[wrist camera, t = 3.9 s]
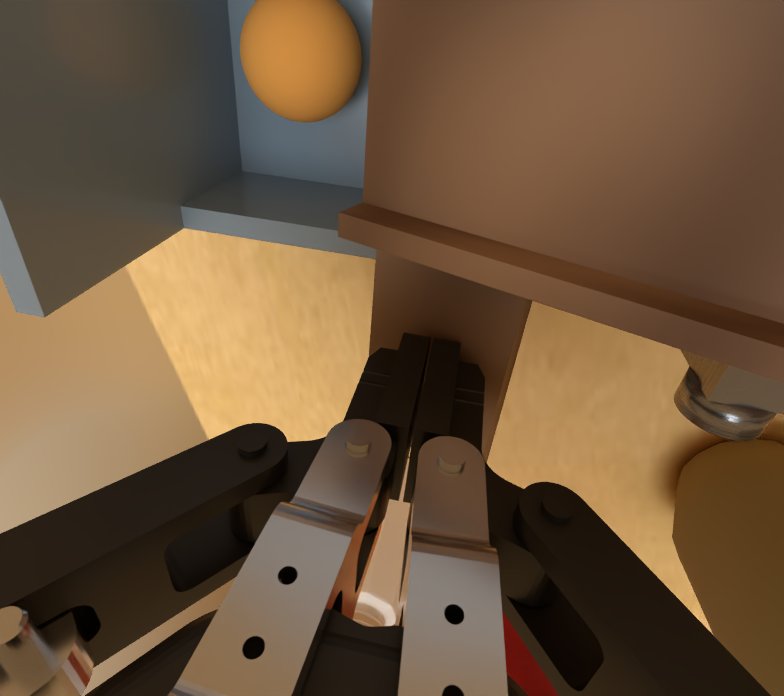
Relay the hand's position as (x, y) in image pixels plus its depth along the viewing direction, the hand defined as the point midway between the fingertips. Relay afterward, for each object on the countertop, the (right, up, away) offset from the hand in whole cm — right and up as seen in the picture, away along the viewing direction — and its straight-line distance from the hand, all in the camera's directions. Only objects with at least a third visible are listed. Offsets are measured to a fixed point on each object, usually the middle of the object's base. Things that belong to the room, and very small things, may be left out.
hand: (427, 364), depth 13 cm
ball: (-4, +10, +3) cm, 11 cm away
